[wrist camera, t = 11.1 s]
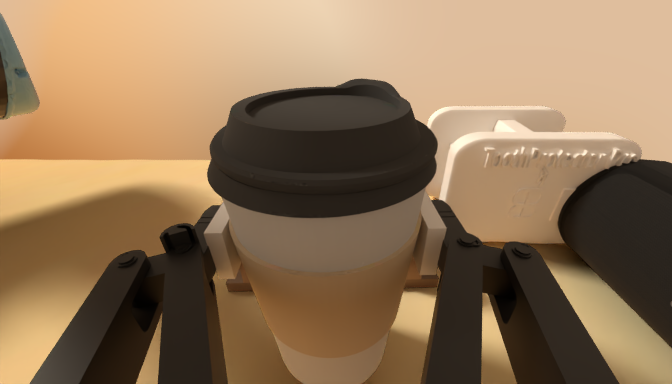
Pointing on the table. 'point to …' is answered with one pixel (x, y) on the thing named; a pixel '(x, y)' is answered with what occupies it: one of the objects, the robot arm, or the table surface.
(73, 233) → the table surface
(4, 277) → the table surface
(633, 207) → the portable speaker
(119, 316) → the robot arm
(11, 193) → the table surface
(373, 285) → the coffee cup
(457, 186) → the cable organizer
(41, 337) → the table surface
